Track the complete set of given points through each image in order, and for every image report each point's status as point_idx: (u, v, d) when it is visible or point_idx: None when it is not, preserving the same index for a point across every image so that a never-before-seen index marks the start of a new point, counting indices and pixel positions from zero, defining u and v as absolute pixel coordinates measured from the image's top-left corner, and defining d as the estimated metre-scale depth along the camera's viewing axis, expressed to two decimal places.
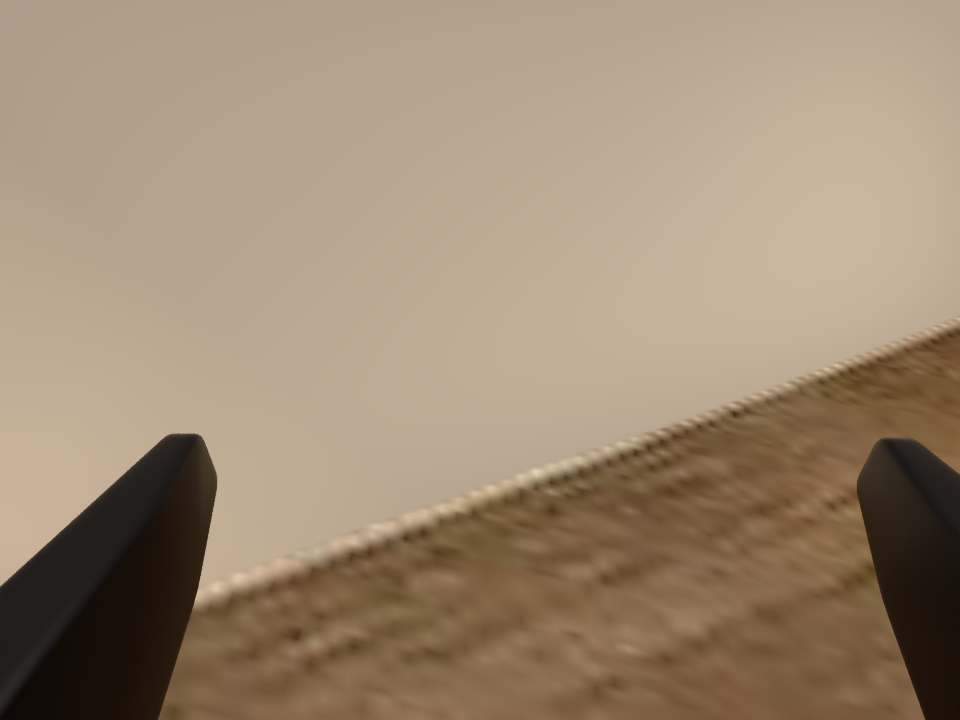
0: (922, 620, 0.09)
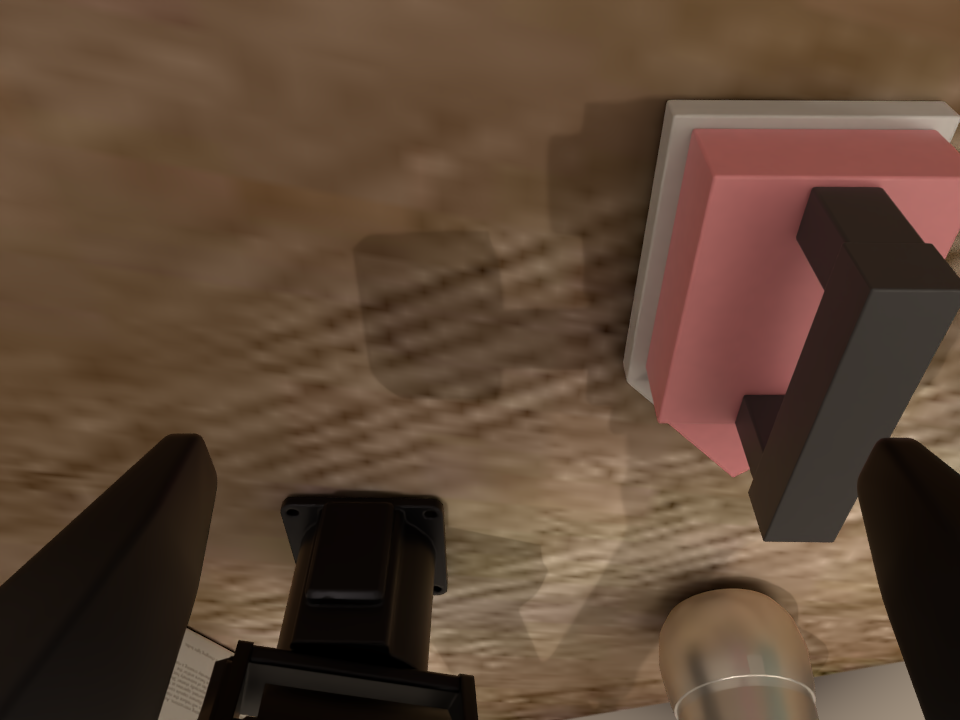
0: (922, 620, 0.09)
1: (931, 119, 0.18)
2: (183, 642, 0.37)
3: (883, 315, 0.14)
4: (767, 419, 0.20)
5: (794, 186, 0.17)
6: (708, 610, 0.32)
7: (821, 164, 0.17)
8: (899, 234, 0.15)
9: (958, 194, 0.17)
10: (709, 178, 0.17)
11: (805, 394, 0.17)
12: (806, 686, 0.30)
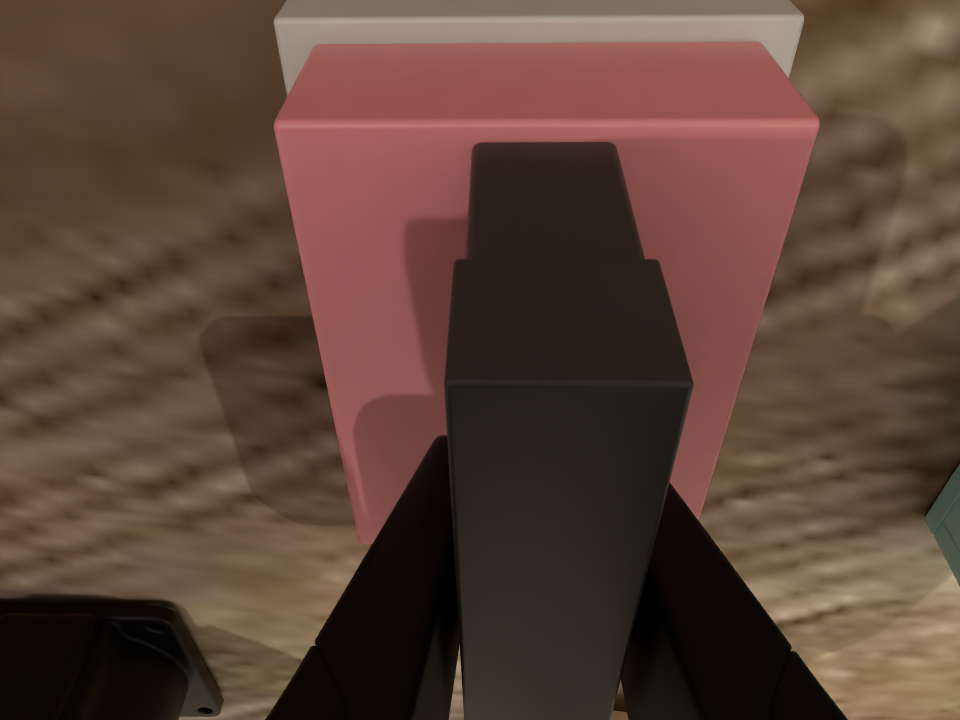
0: None
1: (749, 21, 0.10)
2: None
3: (502, 441, 0.06)
4: None
5: (439, 142, 0.08)
6: None
7: (503, 100, 0.09)
8: (594, 239, 0.07)
9: (772, 156, 0.08)
10: None
11: None
12: None
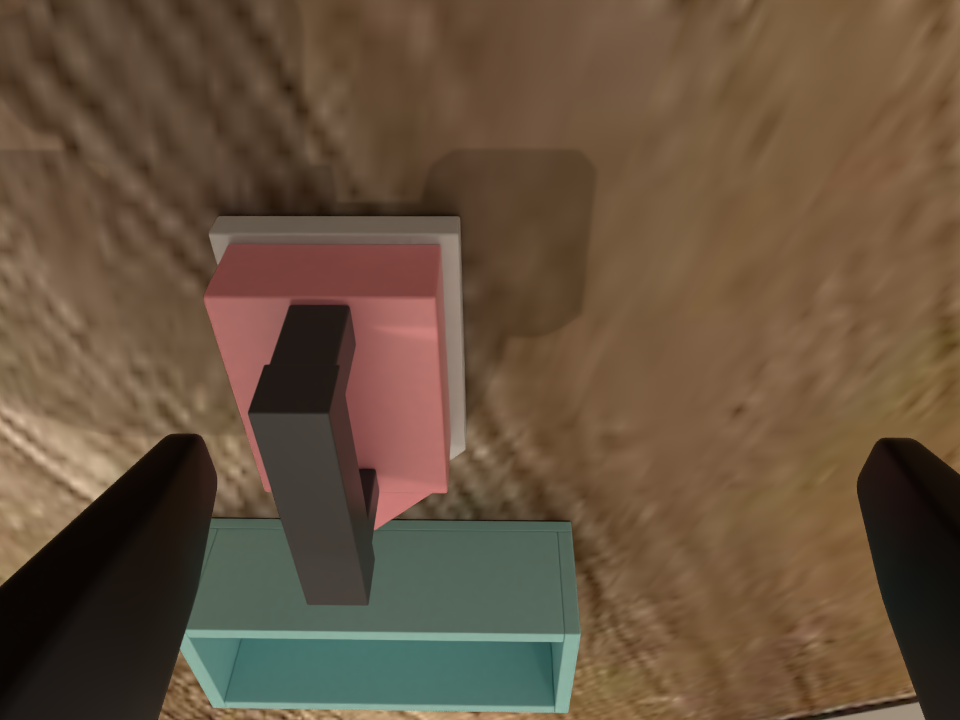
0: (922, 620, 0.09)
1: (432, 236, 0.21)
2: None
3: (272, 432, 0.17)
4: None
5: (274, 304, 0.19)
6: None
7: (304, 283, 0.19)
8: (319, 355, 0.18)
9: (418, 310, 0.19)
10: None
11: None
12: None
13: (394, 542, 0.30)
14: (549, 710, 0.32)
